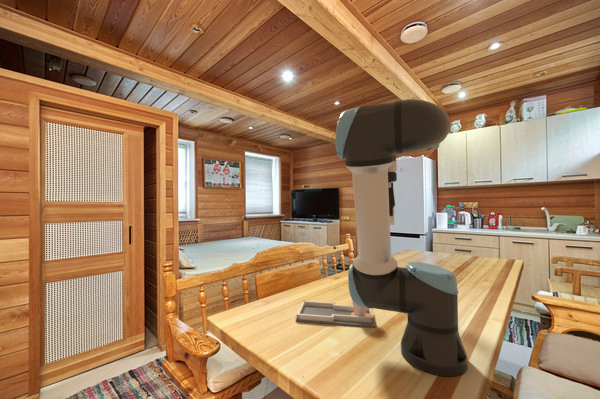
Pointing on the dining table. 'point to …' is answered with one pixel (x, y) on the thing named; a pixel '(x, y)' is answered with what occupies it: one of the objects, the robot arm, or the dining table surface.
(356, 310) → the smoothie
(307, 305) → the keyhole plate
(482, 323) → the dining table surface
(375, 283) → the robot arm
